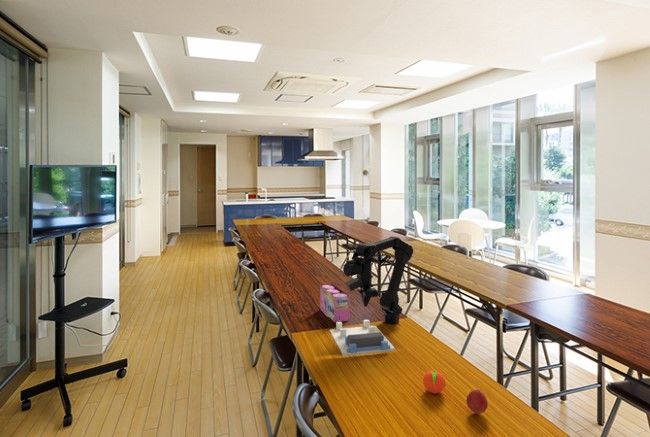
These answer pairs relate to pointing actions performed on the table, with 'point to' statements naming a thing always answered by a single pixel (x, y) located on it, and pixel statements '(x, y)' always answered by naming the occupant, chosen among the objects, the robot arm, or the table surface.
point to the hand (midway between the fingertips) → (365, 306)
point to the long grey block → (366, 339)
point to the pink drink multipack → (334, 303)
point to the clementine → (434, 381)
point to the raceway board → (354, 331)
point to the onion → (477, 401)
